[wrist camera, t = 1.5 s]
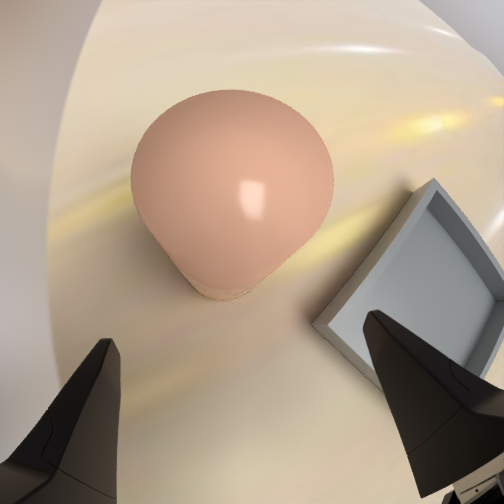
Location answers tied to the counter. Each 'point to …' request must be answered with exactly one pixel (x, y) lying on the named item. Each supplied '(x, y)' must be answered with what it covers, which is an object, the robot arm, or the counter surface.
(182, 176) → the canister
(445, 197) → the tray
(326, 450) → the counter surface
